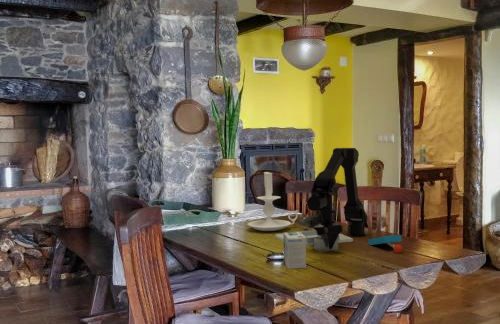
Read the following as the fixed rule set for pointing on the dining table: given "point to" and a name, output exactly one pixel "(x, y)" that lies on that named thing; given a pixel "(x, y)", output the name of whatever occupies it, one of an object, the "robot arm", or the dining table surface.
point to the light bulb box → (294, 250)
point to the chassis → (312, 234)
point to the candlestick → (270, 210)
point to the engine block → (323, 243)
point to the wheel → (302, 221)
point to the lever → (388, 242)
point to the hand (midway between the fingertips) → (326, 246)
